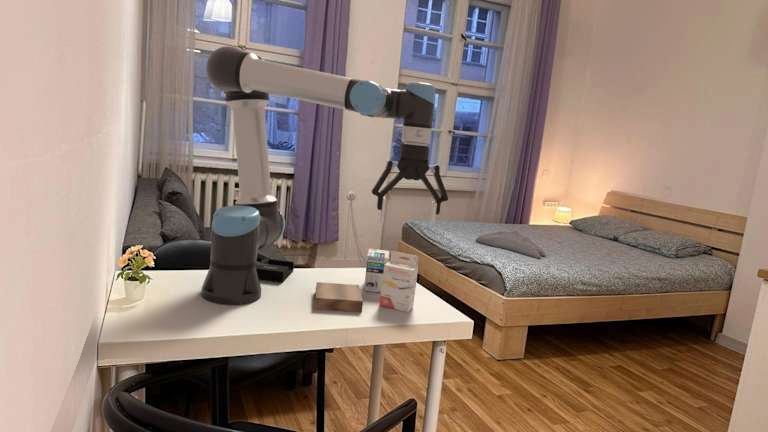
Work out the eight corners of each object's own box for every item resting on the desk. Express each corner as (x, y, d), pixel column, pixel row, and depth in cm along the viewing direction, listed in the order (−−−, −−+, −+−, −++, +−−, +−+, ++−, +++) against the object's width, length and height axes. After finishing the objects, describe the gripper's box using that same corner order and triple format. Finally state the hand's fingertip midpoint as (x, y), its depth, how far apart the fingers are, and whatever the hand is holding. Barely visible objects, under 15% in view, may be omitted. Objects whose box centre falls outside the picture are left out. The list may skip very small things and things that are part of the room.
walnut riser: (315, 309, 134) (316, 298, 134) (315, 292, 148) (316, 282, 147) (361, 312, 136) (363, 301, 135) (357, 295, 149) (358, 285, 149)
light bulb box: (386, 293, 154) (390, 258, 152) (363, 291, 154) (366, 255, 152) (386, 283, 164) (390, 250, 163) (365, 281, 164) (368, 247, 163)
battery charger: (282, 285, 152) (283, 271, 152) (250, 281, 153) (251, 267, 152) (293, 274, 165) (294, 261, 164) (263, 270, 166) (264, 257, 165)
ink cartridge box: (378, 306, 142) (384, 253, 140) (384, 301, 147) (390, 250, 144) (408, 312, 139) (415, 259, 137) (413, 307, 144) (420, 255, 142)
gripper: (369, 139, 131) (361, 223, 134) (465, 149, 134) (455, 230, 137) (366, 139, 138) (359, 218, 141) (458, 148, 142) (448, 225, 145)
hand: (406, 224), depth 139 cm, fingers open, 13 cm apart
